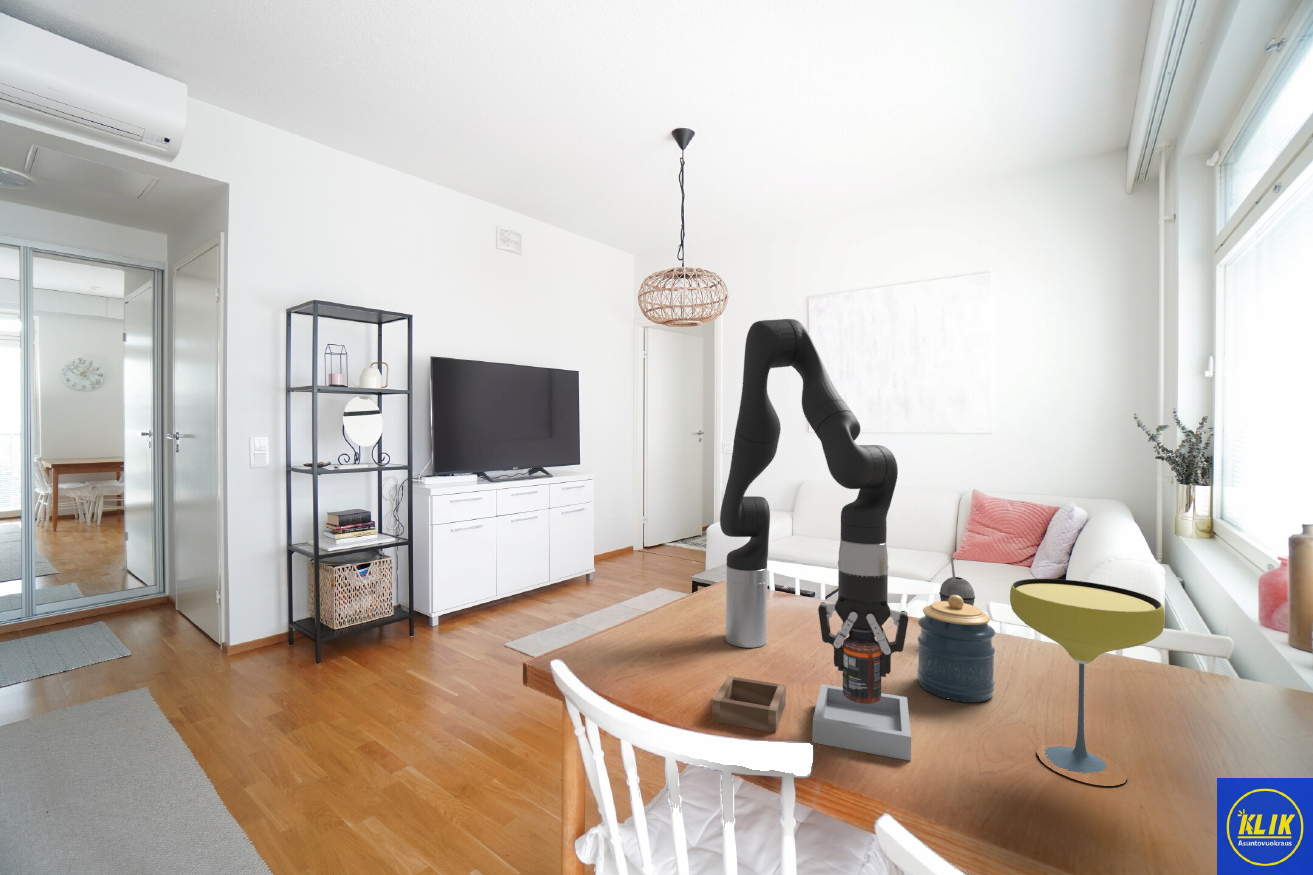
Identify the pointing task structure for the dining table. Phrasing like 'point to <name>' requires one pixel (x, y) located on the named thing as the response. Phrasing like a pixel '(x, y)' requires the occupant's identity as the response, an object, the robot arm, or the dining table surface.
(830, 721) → the tray
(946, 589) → the beverage cup
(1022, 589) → the cocktail glass
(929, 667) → the canister
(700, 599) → the dining table surface
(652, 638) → the dining table surface
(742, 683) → the socket block
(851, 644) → the supplement bottle
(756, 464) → the robot arm
